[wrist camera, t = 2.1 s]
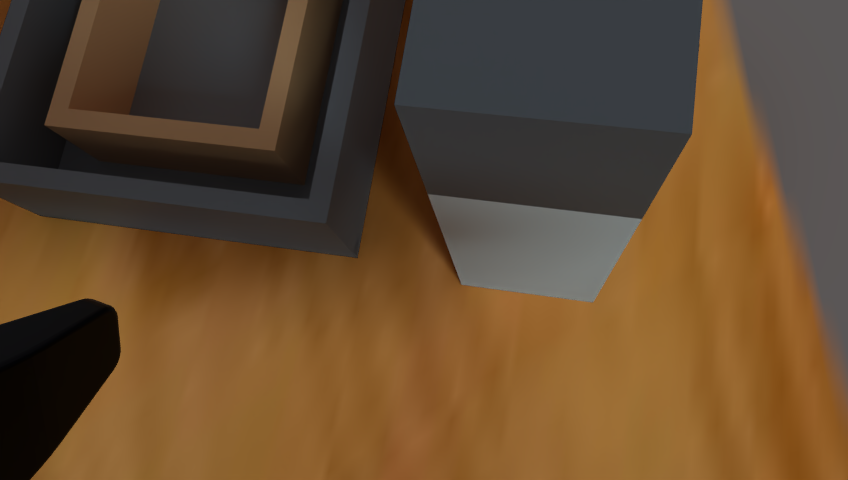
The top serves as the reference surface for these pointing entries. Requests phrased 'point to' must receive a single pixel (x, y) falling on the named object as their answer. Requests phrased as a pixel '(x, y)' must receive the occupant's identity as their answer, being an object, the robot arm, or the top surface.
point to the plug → (546, 130)
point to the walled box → (198, 115)
